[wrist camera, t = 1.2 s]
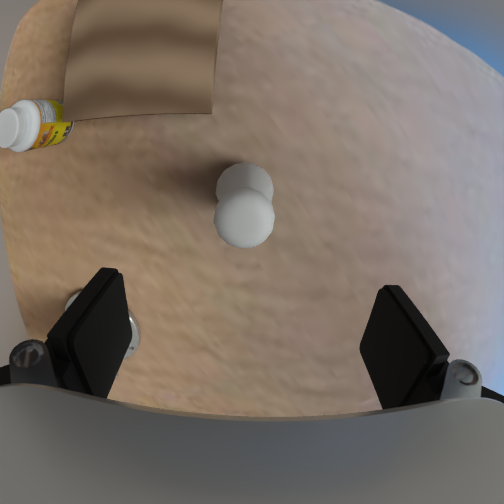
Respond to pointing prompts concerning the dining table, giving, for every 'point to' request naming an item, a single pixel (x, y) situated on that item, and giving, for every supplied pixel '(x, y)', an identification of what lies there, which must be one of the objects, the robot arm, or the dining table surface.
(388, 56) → the dining table surface
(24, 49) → the dining table surface
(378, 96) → the dining table surface
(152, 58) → the small wooden table
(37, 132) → the supplement bottle
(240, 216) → the salt shaker
